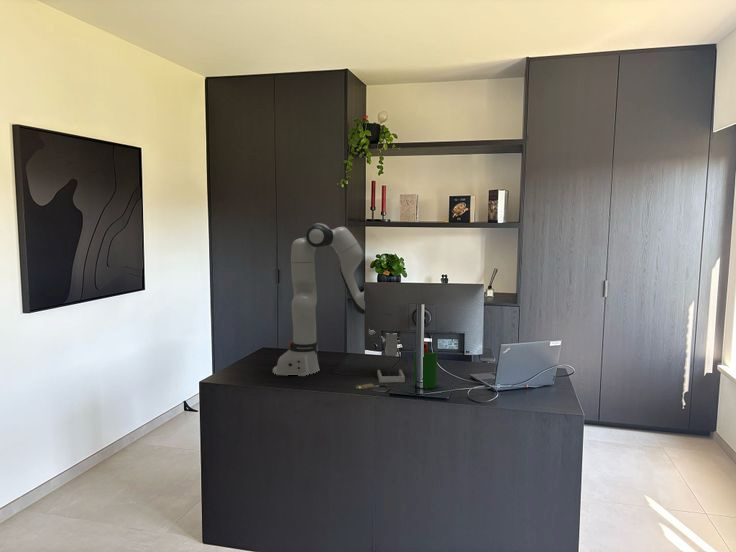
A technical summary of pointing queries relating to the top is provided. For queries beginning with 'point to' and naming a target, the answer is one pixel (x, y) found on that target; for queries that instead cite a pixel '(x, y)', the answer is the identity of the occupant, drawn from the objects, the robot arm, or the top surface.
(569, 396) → the top surface
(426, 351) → the green utensil holder
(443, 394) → the top surface
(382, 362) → the top surface
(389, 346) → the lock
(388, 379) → the bracket
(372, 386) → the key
